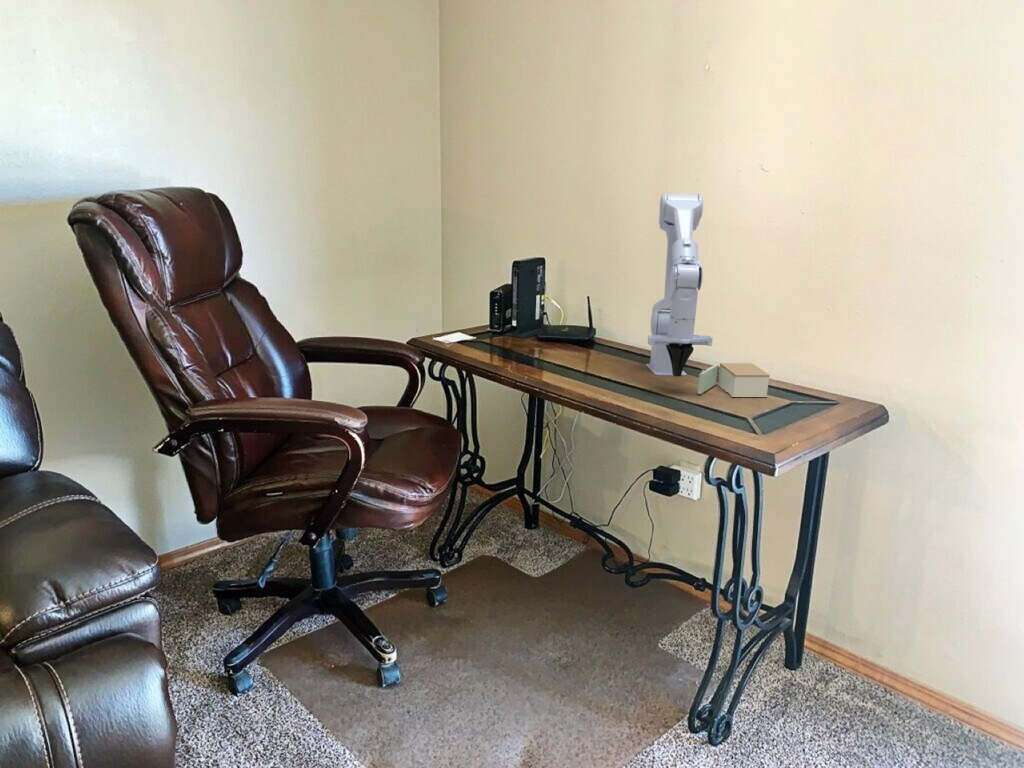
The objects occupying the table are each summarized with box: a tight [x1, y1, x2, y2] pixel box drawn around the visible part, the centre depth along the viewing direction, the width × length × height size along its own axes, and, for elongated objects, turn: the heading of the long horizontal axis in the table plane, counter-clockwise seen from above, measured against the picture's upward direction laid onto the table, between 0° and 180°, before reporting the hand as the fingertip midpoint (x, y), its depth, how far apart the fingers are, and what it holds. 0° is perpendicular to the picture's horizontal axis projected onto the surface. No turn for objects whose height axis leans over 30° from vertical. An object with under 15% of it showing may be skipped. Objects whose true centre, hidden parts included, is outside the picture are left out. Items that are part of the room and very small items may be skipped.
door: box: [697, 364, 720, 395], centre depth 185 cm, size 11×1×5 cm, turn 146°
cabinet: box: [717, 362, 771, 397], centre depth 185 cm, size 10×8×6 cm
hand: (676, 375), depth 182 cm, fingers closed
